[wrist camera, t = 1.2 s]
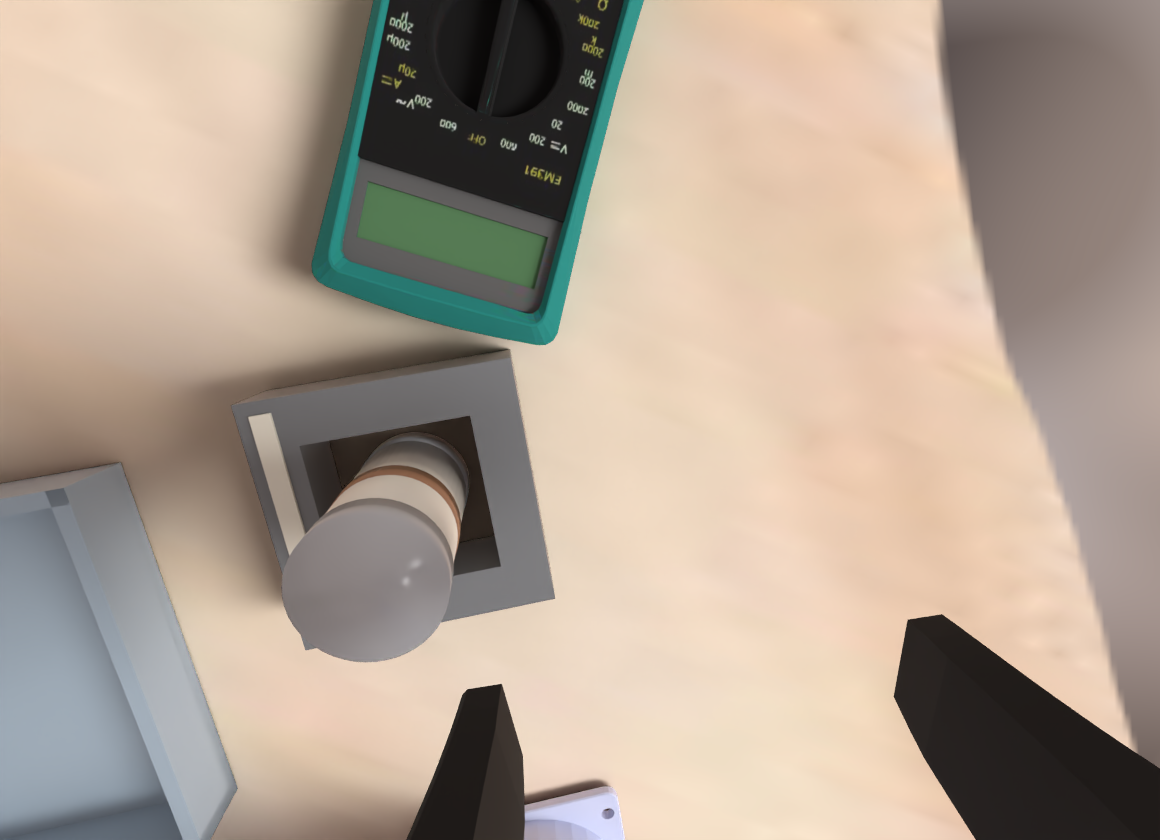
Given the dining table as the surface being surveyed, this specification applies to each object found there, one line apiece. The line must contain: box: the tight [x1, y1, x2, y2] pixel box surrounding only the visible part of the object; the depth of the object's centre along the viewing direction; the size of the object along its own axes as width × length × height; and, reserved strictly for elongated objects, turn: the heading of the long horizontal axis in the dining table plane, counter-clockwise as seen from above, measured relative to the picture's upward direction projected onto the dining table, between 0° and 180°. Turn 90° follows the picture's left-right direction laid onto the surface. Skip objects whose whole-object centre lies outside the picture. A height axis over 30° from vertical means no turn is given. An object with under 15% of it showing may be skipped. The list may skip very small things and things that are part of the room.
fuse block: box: [231, 349, 555, 650], centre depth 19 cm, size 8×8×3 cm
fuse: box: [281, 432, 470, 662], centre depth 17 cm, size 4×4×8 cm
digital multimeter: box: [312, 0, 644, 345], centre depth 17 cm, size 7×15×3 cm, turn 164°
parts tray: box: [0, 462, 238, 840], centre depth 19 cm, size 13×10×2 cm
